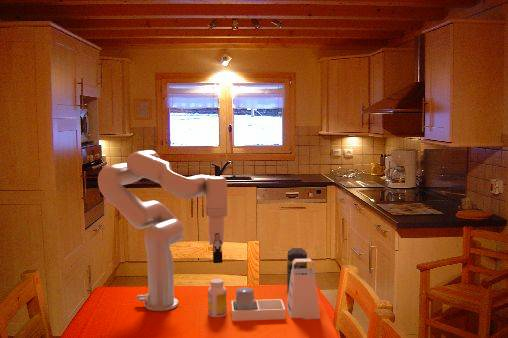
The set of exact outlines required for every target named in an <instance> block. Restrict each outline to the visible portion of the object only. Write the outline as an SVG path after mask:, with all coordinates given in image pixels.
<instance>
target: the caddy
mask: <svg viewBox="0 0 508 338" xmlns="http://www.w3.org/2000/svg"><path fill="white" fill-rule="evenodd" d="M230 303H231V318H232V321H233V322H241V321H265V320H267V321H269V320H272V321H273V320H285V319H286V308H285V307H286V306H285V304H284V302H283V299H282V298H281V299H280V298H278V299H274V298H273V299H272V298H271V299H254V310H236V300H231V301H230Z"/></svg>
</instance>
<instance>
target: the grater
mask: <svg viewBox="0 0 508 338" xmlns="http://www.w3.org/2000/svg"><path fill="white" fill-rule="evenodd" d="M296 262H307V263H308V262H309V263H310V262H312V264H311V267H310V268H309V267H307V268H302V269H294V264H295V263H296ZM296 273H297V275H295V274H296ZM299 273H300V275H298V274H299ZM302 273H304V275H301V274H302ZM305 273H307V275H305ZM317 288H318V286H317V278H316V274H315V263H314V261H313V260H312V259H311V258H307V259H294V260H293V261H292V269H291V276H290V284H289V291H288V293H287V298H286V299H287V300H286V305H285V307H286V309H287V310H286V311H287V312H288V315H289V317H290V319H299V318H302V320H319V319H320V318H321V315H320V307H319V298H318V297H319V296H318V289H317Z"/></svg>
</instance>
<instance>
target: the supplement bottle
mask: <svg viewBox="0 0 508 338" xmlns="http://www.w3.org/2000/svg"><path fill="white" fill-rule="evenodd" d="M227 313H228V310H227V288H226V287H225V286H224V279H221V278H213V279H211V280H210V286H209V287H208V289H207V314H208V315H209V316H210V317H212V318H221V317H225V316H227Z"/></svg>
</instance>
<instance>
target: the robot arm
mask: <svg viewBox="0 0 508 338" xmlns="http://www.w3.org/2000/svg"><path fill="white" fill-rule="evenodd" d="M141 179H147V180H150V181H151V182H155V183H157V184H159V185H160V186H161V188H163V190H165V191H166V192H168V193H169V194H172V195H174V196H176V197H179V198H182V199H187V200H192V199H194V198H198V197H201V196H205V216H206V217H207V218H208V238H209V239H208V242H209V243H208V244H209V245H210V246H212V263H213V264H222V263H223V248H222V247H223V245H224V238H225V237H224V236H225V217H228V180H227V178H226V177H225V176H218V175H217V176H216V175H215V176H210V175H205V174H197V175H192V176H187V177H186V176H183V175H181V174H178V173H176V172H174V171H173V169H172V164H171V163H170V162H169V161H166V160H163V159H161V157H160V155H159V154H158V153H157V152H156V151H155V150H151V149H149V150H148V149H146V150H138V151H135V152H133V153H130V154H129V155H128V157H127V159H126V161H125V162H121V163H115V164H110V165H107V166H104V167H103V168H102V169H101V170H100V171H99V173H98V176H97V184H98V189H99V191H100V193H101V195H102V196H103V197H104V199H106V200H107V201H108V202H109V203H110V204H111V205H112V206H114V208H116V209H117V210H118V212H119V213H120V214H121V215H123V217H124V218H125V219H126V220H127V221H128V222H129V223H130V224H131V225H132V226H133V227H134V228H135V229H142V230H143V229H146V228H148V229H147V230H146V231H145V233H144V239H143V240H144V245H145V249H146V256H147V282H148V283H147V288H148V291H147V292H148V293H145V294H136V301H138V302H144V308H145V309H146V310H148V311H151V312H152V311H153V312H166V311H170V310H173V309H175V308H176V307H177V306H179V300H178V299H177V298H175V284H174V283H175V282H174V281H175V280H174V278H175V277H174V256H173V253H172V250H171V246H172V245H174V244H176V243H178V242H180V241H181V240H182V239H183V237H184V235H185V228H184V225H183V224H182V222H181V221H180V220H179V218H177V217H176V215H174V214H173V212H171V211H170V209H169V208H167V206H165V205H164V204H163V203H162V202H160V201H158V200H148V201H142V200H141V199H140V198H139V197H138V196H137V195H136V194H135V193H134V192H132V191H131V190H130V189H128V188H126V187H125V185H129V184H133V183H136V182H138V181H140V180H141Z"/></svg>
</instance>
